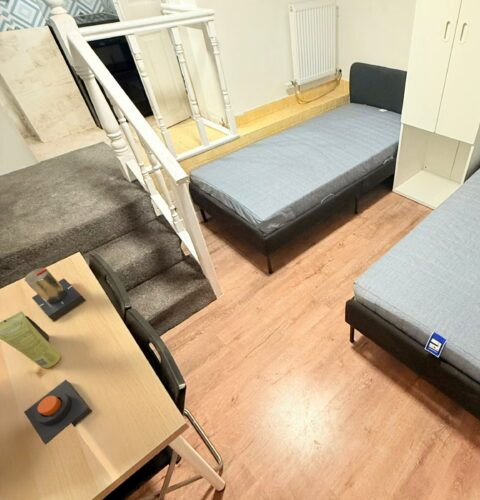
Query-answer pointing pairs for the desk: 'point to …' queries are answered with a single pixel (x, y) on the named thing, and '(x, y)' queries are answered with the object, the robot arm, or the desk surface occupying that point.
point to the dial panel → (61, 302)
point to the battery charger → (38, 329)
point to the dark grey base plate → (58, 412)
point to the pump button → (49, 405)
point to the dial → (45, 285)
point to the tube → (28, 340)
